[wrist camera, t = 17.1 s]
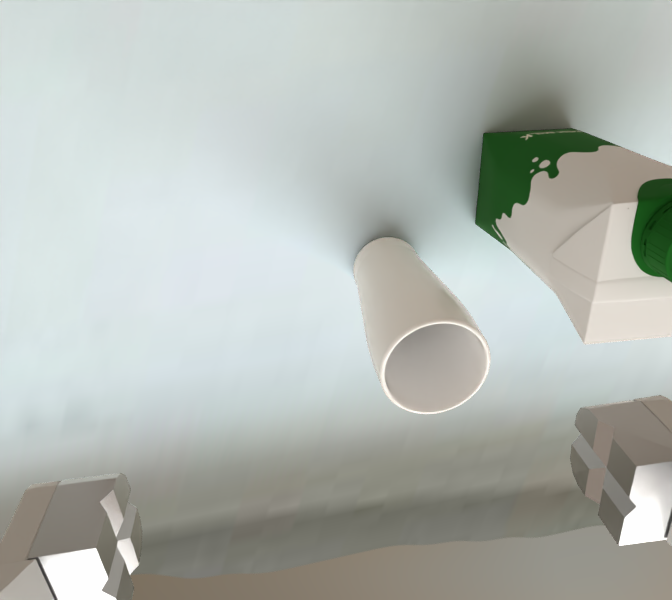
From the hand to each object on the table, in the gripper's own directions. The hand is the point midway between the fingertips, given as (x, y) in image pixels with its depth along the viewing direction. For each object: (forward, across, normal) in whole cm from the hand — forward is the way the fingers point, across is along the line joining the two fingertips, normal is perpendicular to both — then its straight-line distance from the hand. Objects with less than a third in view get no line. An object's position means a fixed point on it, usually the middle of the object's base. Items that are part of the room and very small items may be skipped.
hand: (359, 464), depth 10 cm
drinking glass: (+34, -7, +12) cm, 37 cm away
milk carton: (+34, -18, +6) cm, 39 cm away
